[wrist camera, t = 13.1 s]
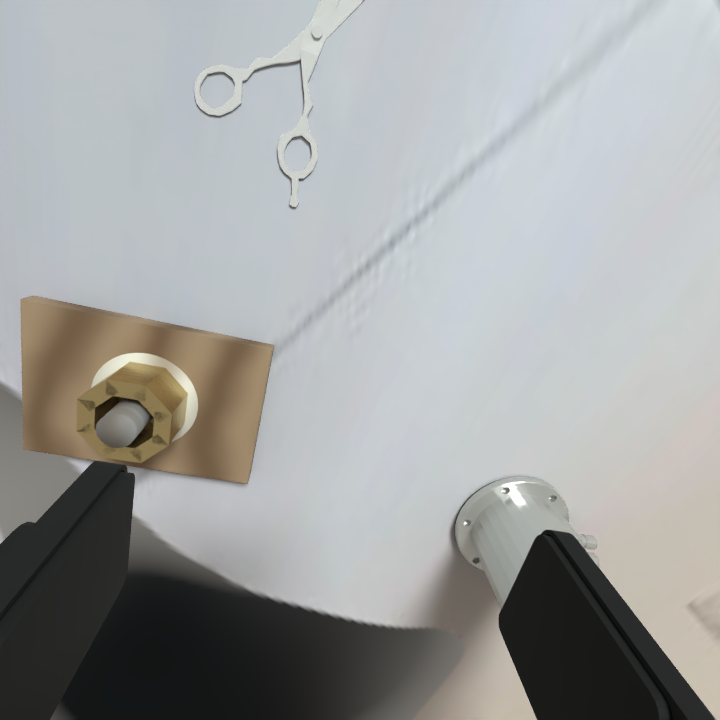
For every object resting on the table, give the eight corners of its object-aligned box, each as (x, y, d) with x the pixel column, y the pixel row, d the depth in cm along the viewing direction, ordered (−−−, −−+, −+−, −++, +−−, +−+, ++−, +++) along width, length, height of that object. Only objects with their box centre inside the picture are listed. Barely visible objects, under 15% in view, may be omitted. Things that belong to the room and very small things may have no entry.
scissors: (175, 115, 30) (337, -171, 26) (179, 117, 31) (337, -161, 26) (294, 208, 33) (460, -35, 28) (295, 208, 34) (456, -28, 29)
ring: (190, 372, 35) (173, 391, 32) (182, 441, 38) (166, 466, 34) (104, 356, 34) (77, 374, 31) (101, 429, 37) (76, 453, 33)
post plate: (274, 345, 37) (262, 373, 30) (250, 474, 41) (235, 523, 35) (33, 295, 34) (-38, 315, 27) (34, 440, 38) (-27, 487, 32)
